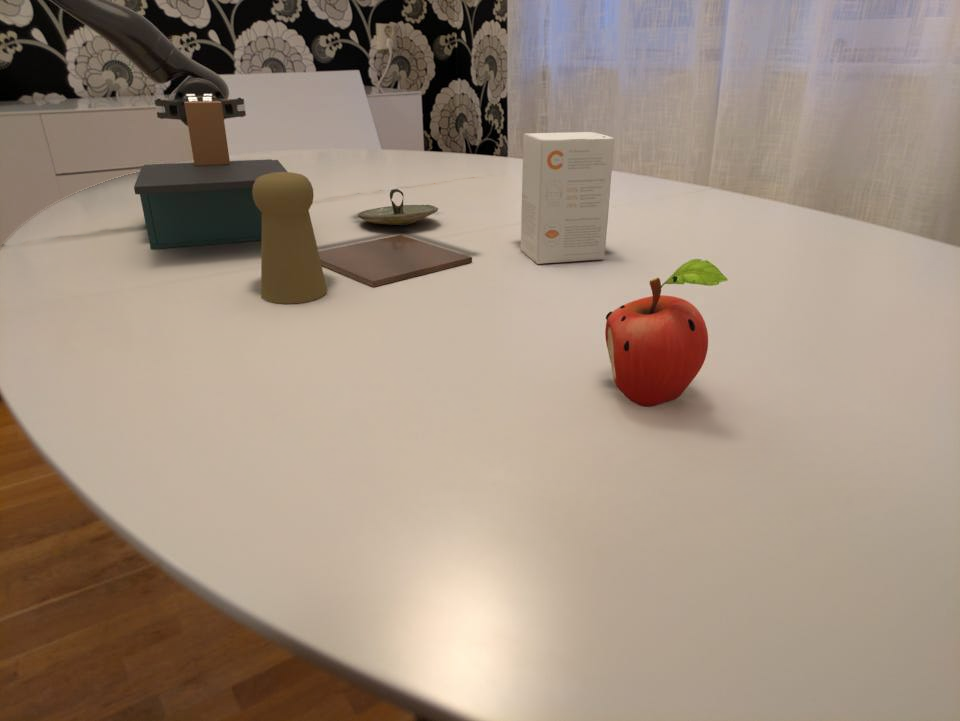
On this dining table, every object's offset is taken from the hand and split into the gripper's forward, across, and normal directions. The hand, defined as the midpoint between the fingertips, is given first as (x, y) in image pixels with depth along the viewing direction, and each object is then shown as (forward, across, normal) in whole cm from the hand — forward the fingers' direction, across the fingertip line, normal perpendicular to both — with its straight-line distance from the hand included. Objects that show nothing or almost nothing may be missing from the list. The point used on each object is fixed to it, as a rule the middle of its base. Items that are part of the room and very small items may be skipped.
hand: (202, 112), depth 92 cm
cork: (+43, +6, +13) cm, 45 cm away
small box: (+40, +35, +13) cm, 55 cm away
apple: (+73, +25, +13) cm, 78 cm away
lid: (+19, +22, +13) cm, 32 cm away
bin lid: (+22, 0, +5) cm, 22 cm away
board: (+35, +16, +13) cm, 41 cm away
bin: (+15, 0, +13) cm, 20 cm away
